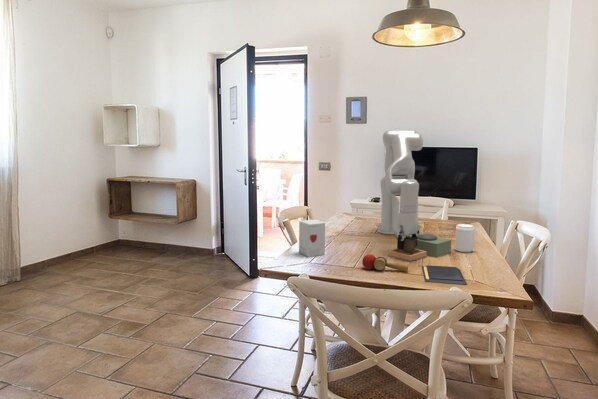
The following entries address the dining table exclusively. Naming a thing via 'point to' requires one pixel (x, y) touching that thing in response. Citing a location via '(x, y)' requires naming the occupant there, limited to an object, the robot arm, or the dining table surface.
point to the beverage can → (464, 238)
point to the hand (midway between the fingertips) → (407, 247)
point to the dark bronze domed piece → (409, 245)
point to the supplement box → (312, 238)
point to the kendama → (381, 263)
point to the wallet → (443, 275)
